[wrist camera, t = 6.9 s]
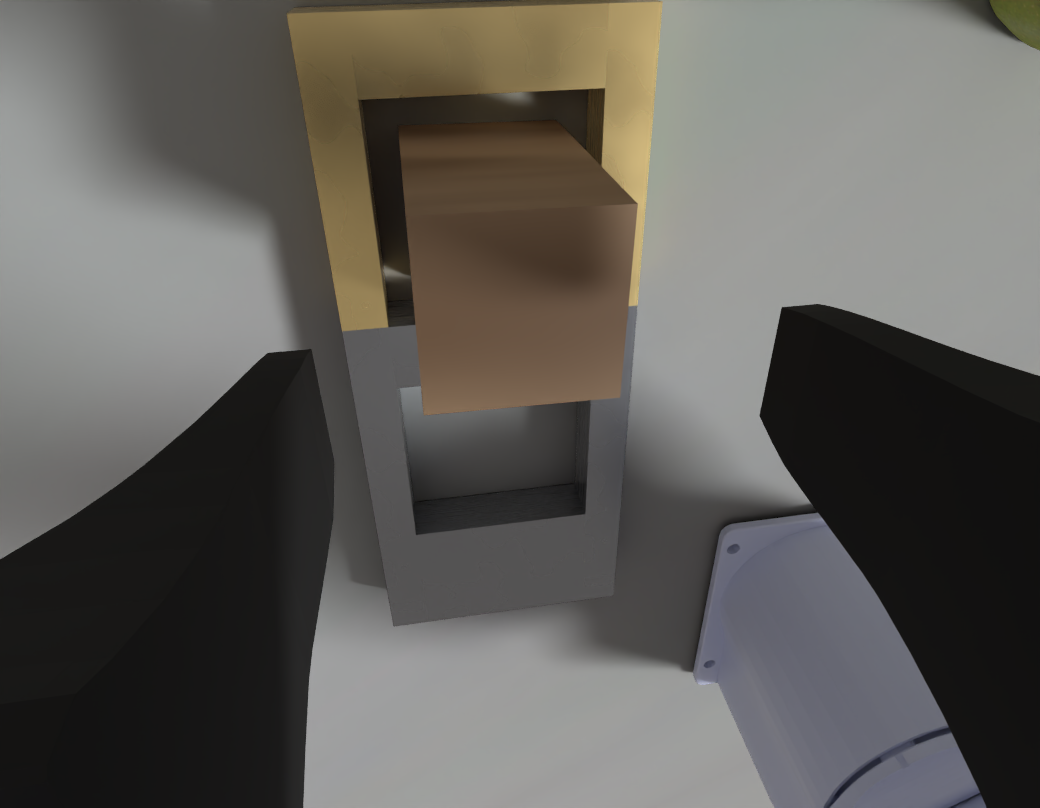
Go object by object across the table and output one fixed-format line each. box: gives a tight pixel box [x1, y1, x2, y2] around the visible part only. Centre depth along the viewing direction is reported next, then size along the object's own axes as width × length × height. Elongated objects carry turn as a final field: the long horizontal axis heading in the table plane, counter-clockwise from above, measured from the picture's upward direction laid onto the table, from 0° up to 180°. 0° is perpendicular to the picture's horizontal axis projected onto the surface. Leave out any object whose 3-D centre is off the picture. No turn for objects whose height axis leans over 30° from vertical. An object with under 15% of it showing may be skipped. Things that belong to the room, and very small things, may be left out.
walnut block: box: [398, 120, 638, 415], centre depth 16 cm, size 4×4×7 cm
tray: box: [287, 0, 662, 626], centre depth 21 cm, size 19×8×2 cm, turn 1°
